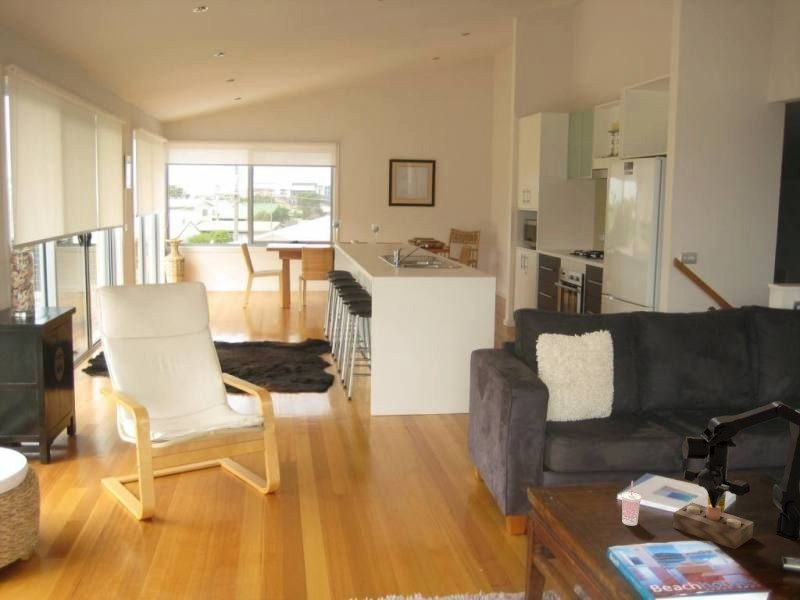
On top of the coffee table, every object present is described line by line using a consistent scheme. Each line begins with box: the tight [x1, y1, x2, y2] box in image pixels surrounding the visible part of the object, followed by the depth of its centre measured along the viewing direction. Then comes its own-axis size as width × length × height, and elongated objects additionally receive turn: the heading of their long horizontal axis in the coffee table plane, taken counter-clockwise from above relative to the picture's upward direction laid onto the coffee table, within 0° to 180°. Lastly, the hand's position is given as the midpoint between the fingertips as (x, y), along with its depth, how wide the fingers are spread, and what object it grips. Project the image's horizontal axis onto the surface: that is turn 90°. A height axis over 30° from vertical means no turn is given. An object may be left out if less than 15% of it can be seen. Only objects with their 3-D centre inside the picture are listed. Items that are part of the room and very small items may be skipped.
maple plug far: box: [687, 506, 700, 515], centre depth 255 cm, size 4×4×5 cm
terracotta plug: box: [706, 504, 721, 522], centre depth 250 cm, size 4×4×5 cm
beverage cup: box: [621, 480, 642, 527], centre depth 256 cm, size 6×6×14 cm
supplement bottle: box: [707, 491, 727, 513], centre depth 267 cm, size 5×5×10 cm
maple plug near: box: [726, 519, 741, 529], centre depth 246 cm, size 4×4×5 cm
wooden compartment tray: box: [672, 502, 754, 550], centre depth 250 cm, size 20×12×5 cm, turn 43°
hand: (714, 507), depth 250 cm, fingers closed, pressing on terracotta plug
